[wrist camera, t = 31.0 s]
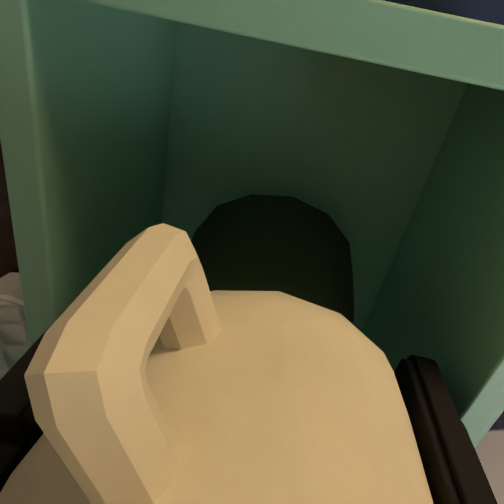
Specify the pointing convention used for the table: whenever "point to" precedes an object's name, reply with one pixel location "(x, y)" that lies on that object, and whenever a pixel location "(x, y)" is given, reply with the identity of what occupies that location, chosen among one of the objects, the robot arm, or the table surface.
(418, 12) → the bin
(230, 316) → the character mug
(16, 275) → the white cup
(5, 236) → the table surface
